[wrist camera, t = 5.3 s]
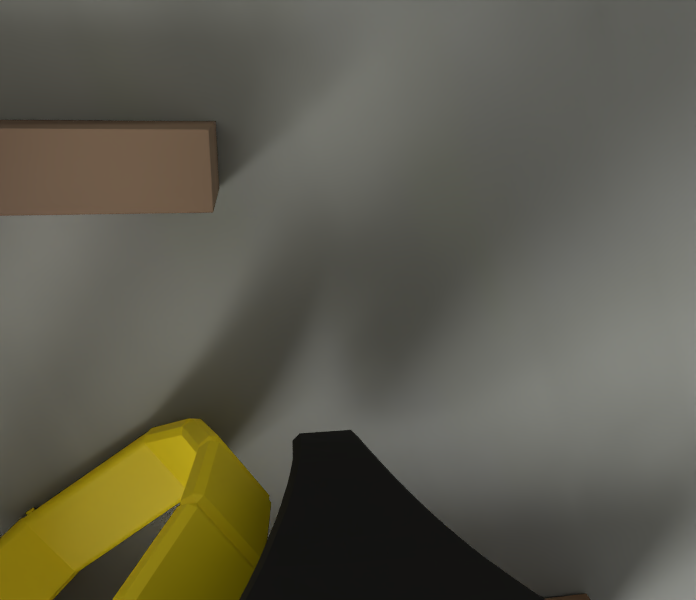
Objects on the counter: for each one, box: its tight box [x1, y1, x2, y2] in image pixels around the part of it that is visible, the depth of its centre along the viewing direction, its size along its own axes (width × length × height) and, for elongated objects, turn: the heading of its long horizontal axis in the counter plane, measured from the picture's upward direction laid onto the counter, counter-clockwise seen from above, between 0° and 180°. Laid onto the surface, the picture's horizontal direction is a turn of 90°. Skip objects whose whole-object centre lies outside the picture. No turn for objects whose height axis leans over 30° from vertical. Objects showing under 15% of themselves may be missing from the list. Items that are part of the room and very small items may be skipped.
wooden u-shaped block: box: [0, 120, 590, 600], centre depth 9 cm, size 16×12×4 cm
